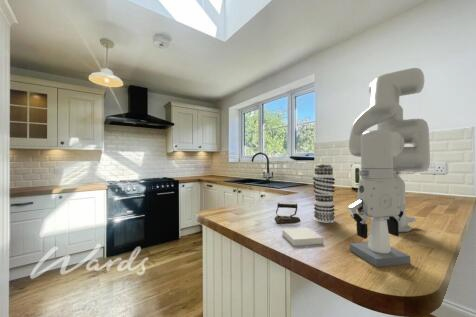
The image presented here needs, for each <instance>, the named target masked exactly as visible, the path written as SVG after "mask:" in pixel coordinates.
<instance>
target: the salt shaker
mask: <svg viewBox="0 0 476 317" xmlns="http://www.w3.org/2000/svg"><path fill="white" fill-rule="evenodd" d="M369 222H370V223H369V224H370V225H369V233H368V241H367V242H368V248H369V249H370V250H372V251H374V252H378V253H389V252H390V251H391V248H390V247H391V240H390V234H389V233H388V226H387V220H385V219H384V217H376V218H373V217H370V221H369Z"/></svg>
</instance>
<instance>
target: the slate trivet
mask: <svg viewBox="0 0 476 317" xmlns="http://www.w3.org/2000/svg"><path fill="white" fill-rule="evenodd" d="M390 248H391V251H390V252H389V253H378V252H374V251H372V250H370V249H369V248H368V241H365V242H364V241H363V242H353V243H352V242H351V243H349V251H350V252H352V253H354V254H355V255H357V256H358V257H360V258H361V259H363V260H364V261H366V262H367V263H369V264H371V265H373V266H374V267H376V268H379V267H389V266H398V265H399V266H401V265H408V264H411V255H410V254H407V253H405V252H402V251H401V250H399V249H397V248H394V247H393V246H390Z"/></svg>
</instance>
